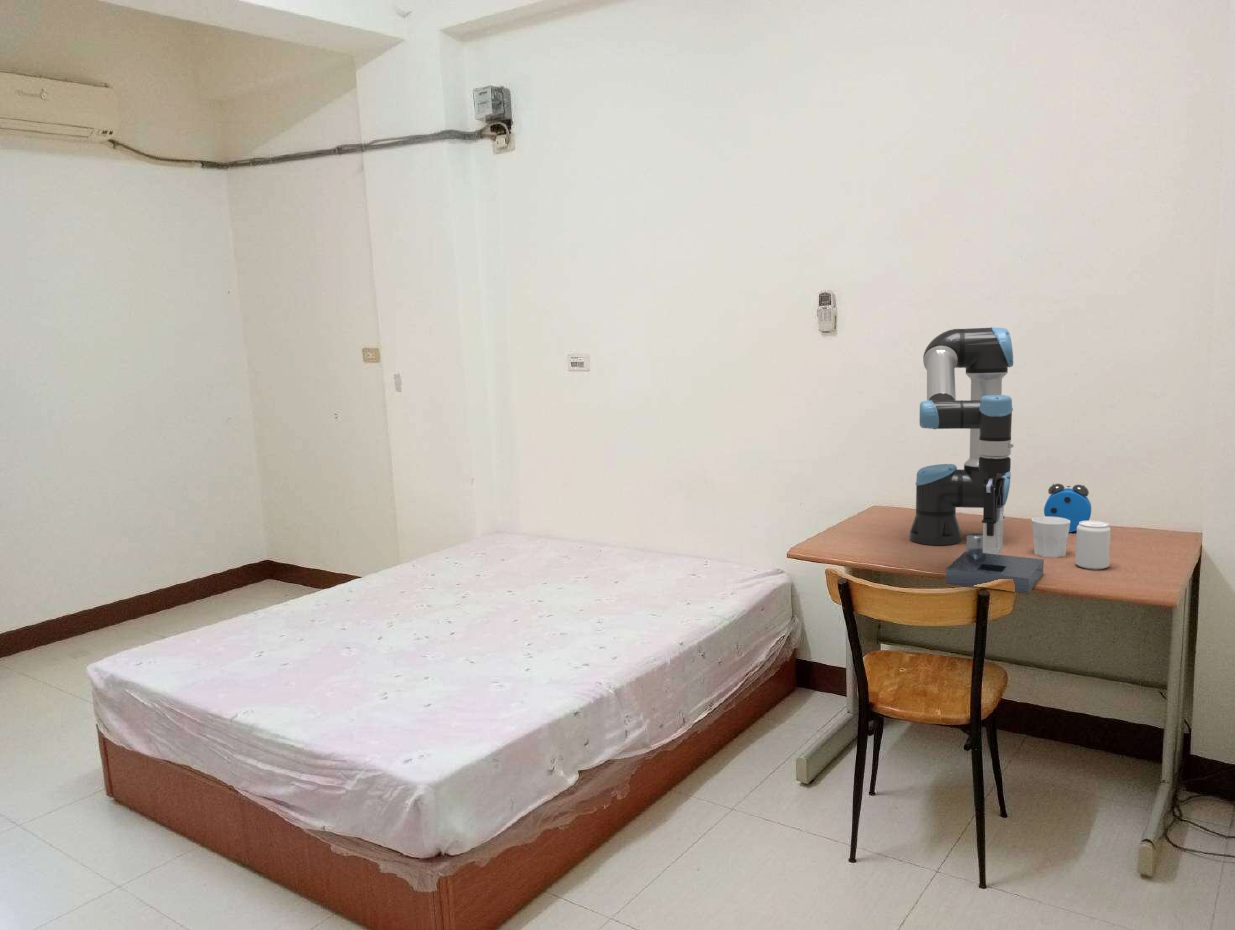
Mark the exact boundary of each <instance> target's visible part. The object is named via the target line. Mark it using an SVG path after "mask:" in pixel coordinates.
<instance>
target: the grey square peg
mask: <svg viewBox="0 0 1235 930" xmlns="http://www.w3.org/2000/svg"><path fill="white" fill-rule="evenodd" d="M1004 508H1005V505H1004V506H1003V505H997V512H996V523H997V546H996V549H994V548H985V523H982V524H983V525H982V526H983V527H982V528H983V529H982V534H983V553H988V554H998V555H1001V553H1003V546H1004V544H1003V543H1004V519H1003V516H1004V514H1005V513H1004Z"/></svg>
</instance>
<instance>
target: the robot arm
mask: <svg viewBox="0 0 1235 930" xmlns="http://www.w3.org/2000/svg"><path fill="white" fill-rule="evenodd" d="M1011 338H1012V337H1011V334H1010V332H1009V330H1008V329H1007V328H1004V327H993V326H991V327H978V328H977V327H975V328H974V327H973V328H952V329H949V330H945V331H944V332H941V333H940V334H938V335H936V336H935V337H934V338H933V339H932V340H931V341H930V342H929V344H928V345H927V346H926V348H925V350H924V352H923V355H922V356H923V357H922V358H923V361H922V362H923V367H924V368H925V370H926V400H922V401H921V402H920V403H919V426H920V428H922V429H931V430H937V429H938V430H944V429H946V430H948V429H950V430H951V429H952V430H953V429H954V430H955V429H961V430H962V429H964V430H965V429H968V430H969V457H968V459H967V460H966V461H965V462H964V463H963V469H958V467H957V465H956V464H953V463H940V464H939V463H937V464H933V465H926V466H924V467H921V468H919V469H918V471H916V472H917V473H916V481H915V488H916V489H915V490H916V491H915V492H916V494H915V499H916V500H915V515H914V519H913V522H912V525H911V527H910V529H909V540H910V541H911V542H912V543H913V542H914V543H917V544H922V545H929V546H950V545H951V546H952V545H956V544H959V543H960V542H961V541H962V532H961V529H960V525H959V522H958V519H957V516H956V511H957V509H956V508H965V509H967V508H971V509H973V508H975V509H976V508H977V509H980V508H982V509H983V514H982V515H983V516H982V518H983V519H982V520H981V523H982V524H983V523H985V548H994V549H996V546H997V523H996V512H997V505H1003V506H1004V507H1005V505H1006V504H1007V501H1008V496H1009V492H1010V488H1011V476H1012V475H1011V474H1012V473H1011V463H1012V462H1011V461H1012V459H1011V458H1010V455H1011V454H1012V449H1011V448H1014V446H1015V445H1014V444H1013V443H1011V442H1012V423H1013V422H1012V420H1013V419H1012V418H1013V411H1014V408H1013V399H1012V397H1011V396H1010V395H1004V394H1002V390H1003V389H1002V388H1003V385H1002V384H1003V383H1002V382H1003V378H1005V377H1006V375H1007V374H1008V368H1011V367H1013V366H1014V350H1013V344H1012V339H1011ZM958 368H959V369H961V368H962V369H963V368H964V369H965V375H966V376H967V377H968V378H970V400H969V399H968V400H967V399H965V400H964V399H963V400H957V399H956V398H957V397H956V394H957V393H956V381H955V380H956V377H955V376H956V373H955V369H958ZM1003 520H1005V515H1003Z"/></svg>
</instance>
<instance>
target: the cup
mask: <svg viewBox="0 0 1235 930" xmlns="http://www.w3.org/2000/svg"><path fill="white" fill-rule="evenodd" d="M1030 520H1031V529H1032V536H1033V552H1034V555H1036V556H1040V557H1043V558H1057V559H1058V558H1061V557H1066V553H1067V544H1068V539H1069V533H1070V532H1069V527H1070V520H1068V519H1065V518H1060V517H1048V516H1046V517H1045V516H1036V517H1032V518H1031V519H1030Z"/></svg>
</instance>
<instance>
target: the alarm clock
mask: <svg viewBox="0 0 1235 930" xmlns="http://www.w3.org/2000/svg"><path fill="white" fill-rule="evenodd" d="M1066 487H1067V488H1065V486H1064V485H1063V484H1061V483H1052V485H1051V486H1050V487H1049V488H1048V490H1047V492H1048V494H1049V496H1048V498H1047V500H1046V502H1045V504H1044V507H1043V508H1044V509H1043V514H1044V515H1043V516H1044V517H1046V516H1048V517H1060V518H1065V519H1068V520H1070V527H1069V533H1072V532H1073V533H1074V532H1077V526H1078V525H1079V522H1081V521H1090V519H1091V515H1092V503H1091V501H1090V500H1089V498H1088V496H1089V494H1090V491H1089V489H1088V488H1087V487H1086V486H1085V485H1082V484H1074V486H1073V487H1072V488H1071V485H1066Z"/></svg>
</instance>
